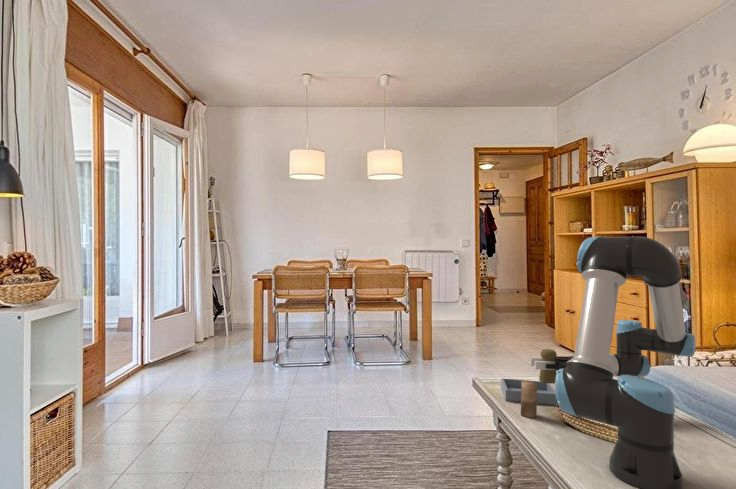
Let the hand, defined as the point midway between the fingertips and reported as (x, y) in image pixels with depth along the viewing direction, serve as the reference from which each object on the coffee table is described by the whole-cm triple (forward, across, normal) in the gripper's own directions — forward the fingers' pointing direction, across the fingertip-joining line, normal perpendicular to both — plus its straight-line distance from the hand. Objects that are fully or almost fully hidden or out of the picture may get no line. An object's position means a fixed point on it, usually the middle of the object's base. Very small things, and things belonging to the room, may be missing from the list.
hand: (532, 363), depth 148 cm
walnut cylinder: (+4, -6, -16) cm, 18 cm away
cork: (-5, 0, -6) cm, 8 cm away
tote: (-3, +13, -16) cm, 21 cm away
